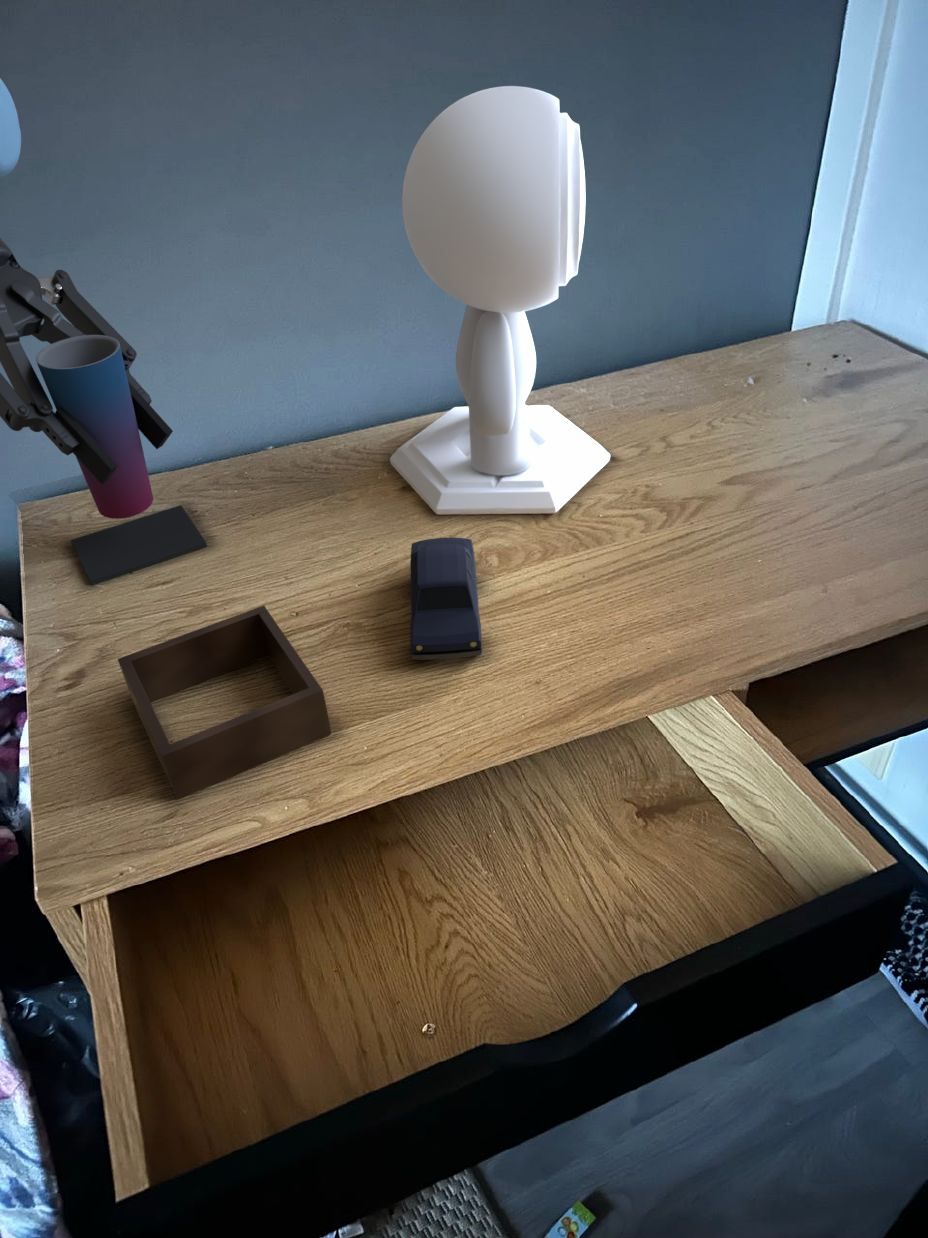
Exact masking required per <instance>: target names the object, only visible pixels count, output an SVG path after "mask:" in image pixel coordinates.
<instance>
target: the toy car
mask: <svg viewBox="0 0 928 1238" xmlns="http://www.w3.org/2000/svg"><path fill="white" fill-rule="evenodd" d="M475 558H476V557H475V551H474V546H473V539H471V538H465V537H436V538H428V539H423V540H419V541H415V542H412V543H411V549H410V563H409V564H410V565H409V568H410V627H409V628H410V631H409V632H410V644H411V647H410V648H411V649H409V652H410V654H411V657H412V659H413V660H417V661H418V660H419V661H420V660H421V661H422V660H423V661H425V660H447V659H460V658H467V657H468V658H469V657H478V656H481V655H482V654H483V650H484V646H483V644H482V624H481V618H480V612H479V611H480V609H479V595H478V581H477V570H476V569H477V568H476V559H475Z"/></svg>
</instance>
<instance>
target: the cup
mask: <svg viewBox="0 0 928 1238" xmlns="http://www.w3.org/2000/svg"><path fill="white" fill-rule="evenodd" d="M36 354H37V355H36V356H35V362H36V365H37V367H38V370H39V372H40V374H41V376H42V379H43V381H44V383H45V386H46V389H47V391H48V393H49V395H50V398H51V400H52V403H53V405H54V408H55V411H56V410H57V409H59V408H61V407H62V408H63V409H64V410H65V411H66V412H68V413H69V414H70V415H71V416H73V417H74V418H75V419H76V420H77V421H78V422H79V423H80V425H81V426H82V427H83V428H84V429H85V430H86V431H87V432H88V433H89V434H90V436H91V437H92V438H93V439H94V440H95V441H96V442H97V443H98V444H99V445H100V447H101V448H102V449H103V450H104V451H105V452H106V453H107V454H108V455H109V457H110V458H111V459H112V460H113V461H114V462H115V463H116V464H117V465H118V467H117V468H116V470H115V471H114V473H113V474H112V476H111V477H110V478H109V480H108V481H106V482H105V483H103V484H101V483H100V482H99V481H98V480H97V479H96V478H95V477H94V475H93V474H92V473H91V472H90V471H89V470H88V469H87V468H86V467H85V466H84V464H83V463H82V462H81V461H80V460H79V459H78V458H77V457H76V456H75V458H76V460H77V463H78V466H79V467H80V470H81V472H82V474H83V477H84V480H85V482H86V484H87V487H88V489H89V492H90V494H91V496H92V499H93V502H94V503H95V507H96V509H97V511H98V513H99V514H100V515H101V516H102V517H104V518H108V519H112V520H113V519H114V520H116V519H117V520H119V519H120V520H121V519H129V518H131V517H135V516H137V515H140V514H142V513H144V512H145V511H147V510H148V509H149V508H150V507H151V506H152V504H153V502H154V494H153V490H152V486H151V485H152V484H151V481H150V476H149V471H148V467H147V462H146V458H145V454H144V448H143V445H142V439H141V435H140V430H139V429H138V425H137V421H136V416H135V411H134V407H133V402H132V398H131V393H130V388H129V384H128V379H127V375H126V370H125V365H124V361H123V356H122V351H121V347H120V343H119V342H118V341H117V340H116V339H115V338H112V337H109V336H104V335H83V336H77V337H72V338H67V339H64V340H60V341H58V342H55V343H53V344H49V345H47V346H45V347H43V348H42V349H41V350H40V351H38V353H36Z"/></svg>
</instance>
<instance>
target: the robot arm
mask: <svg viewBox="0 0 928 1238" xmlns="http://www.w3.org/2000/svg"><path fill="white" fill-rule="evenodd" d="M21 149H22V130H21V128H20V121H19V116H18V111H17V108H16V105H15V102H14V99H13V98H12V95H11V93H10V91H9V89H8V88H7V86H6V84H5V83H4V81H3V80H2V78H0V178H3V177H6V176H7V175H9V174H10V173H11V172H12V171H13V170H14V169H15V167H16V166H17V164H18V162H19V159H20V155H21ZM43 296H44V297H45V298H47V300H48V302H47V301H45V300H44V299H43ZM54 305H55V307H54ZM56 308H57V309H56ZM61 314H62V315H61ZM62 316H63V317H64V318H63V317H62ZM42 322H43V323H42ZM83 335H104V336H109V337H112V338H115V339H116V340H117V341H118V342H119V343H120V347H121V351H122V356H123V361H124V365H125V370H126V375H127V379H128V384H129V388H130V393H131V398H132V402H133V407H134V411H135V416H136V421H137V425H138V430H139V432H141V434H142V435H143V436H144V437H145V439H146V440H147V441H148V442H149V443H150V444H151V445H152V446H153V447H154V448H155V449H156V450H158V449H159V448H161V447H163V446H164V445H165V443H166V442H167V440H168V439H169V437H171V436H172V434H173V432H174V430H173V429H172V428H171V427H170V426H169V425H168V424H167V423H166V421H165V420H164V419H163V418H162V417H161V415H159V413H157V411H156V410H155V409H154V408H153V407H152V405H151V403H152V398H151V396H150V395H149V393H148V392H147V391H146V390H145V389H144V388H143V387H142V385H141V384H140V382H138V381H137V379H135V378H134V377H133V375H132V374H131V372H130V369H131V366H133V363H134V362H135V360H136V358H137V356H138V353H137V350H136V349H135V348H134V347H132V345H130V343H129V342H128V341H127V340H126V339H125V337H123V336H122V335H121V334H120V333H119V332H118V331H117V330H116V329H115V328H114V327H113V326H112V325H111V324H110V323H109V322H108V321H107V320H106V319H105V318H104V317H103V316H102V315H101V314H100V312H99V311H97V310H96V308H95V307H94V306H92V304H91V303H90V302H89V301H88V300H87V299H86V298H85V297H84V296H83V295H82V294H81V293H80V292H79V291H78V290H77V288H76V286H75V283H74V282H73V280H72V278H71V276H70V275H69V273H68V272H67V271H65V270H63V269H57V270H55V272H54V274H53V276H48V277H37V276H36V275H35V274H33V273H32V272H29V271H28V270H26V269H25V268H23V267H22V266H21V265H20V264H19V263H18V261H17V259H16V257H15V255H14V253H13V252H12V250H11V248H10V247H9V246H8V245H7V244H6V242H4V240H2V238H1V237H0V364H1V366H2V368H3V370H4V372H5V374H6V376H7V379H8V380H9V382H8V380H7V379H6V378H5V376H4V375H3V374H2V373H1V372H0V418H1V419H2V421H3V422H4V423H5V424H6V425H7V426H8V428H9V429H10V430H12V431H14V432H19V431H22V430H23V429H24V428H29V430H31V431H32V432H34V433H41V432H42V433H44V435H45V436H46V437H47V438H48V439H49V440H50V441H51V443H53V445H55V447H56V448H57V449H58V450H59V451H60V452H61V453H63V454H64V455H66V456H69V455H71V454H73V455H74V456H75V458H76V457H77V458H78V459H79V460H80V461H81V462H82V463H83V464H84V466H85V467H86V468H87V469H88V470H89V471H90V472H91V473H92V474H93V475H94V477H95V478H96V479H97V480H98V481H99V482H100V483H101V484H103V483H105V482H106V481H108V480H109V478H110V477H111V476H112V474H113V473H114V471H115V470H116V468H117V467H118V465H117V464H116V463H115V462H114V461H113V460H112V459H111V458H110V457H109V455H108V454H107V453H106V452H105V451H104V450H103V449H102V448H101V447H100V445H99V444H98V443H97V442H96V441H95V440H94V439H93V438H92V437H91V436H90V434H89V433H88V432H87V431H86V430H85V429H84V428H83V427H82V426H81V425H80V423H79V422H78V421H77V420H76V419H75V418H74V417H73V416H71V415H70V414H69V413H68V412H66V411H65V410H64V409H63V408H62V407H61V408H59V409H57V410H56V409H55V411H54V408H53V407H54V406H53V405H52V403H51V400H50V399H49V397H48V395H47V392H46V391H45V388H44V387H43V385H42V383H41V381H40V379H39V377H38V375H37V373H36V371H35V369H34V367H33V365H32V363H31V361H30V359H29V357H28V354H26V353H27V352H26V351H25V350H24V347H23V346H22V344H21V340H20V339H21V338H23V337H28V336H33V337H34V338H36V340H38V341H40V342H43V343H44V342H47V343H49V345H51V344H53V343H55V342H58V341H60V340H64V339H67V338H72V337H77V336H83ZM77 458H76V459H77Z"/></svg>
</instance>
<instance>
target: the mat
mask: <svg viewBox="0 0 928 1238" xmlns="http://www.w3.org/2000/svg"><path fill="white" fill-rule="evenodd" d="M70 542H71V545H72V547H73V549H74V551H75V554H76V555H77V558H78V560H79V562H80V564H81V566H82V569H83V571H84V573H85V575H86V577H87V579H88V581H89V583H90V585H91V586H94V585H97V584H100V583H103V582H106V581H108V580H111V579H114V578H117V577H118V578H119V577H120V576H124V575H127V574H129V573H132V572H135V571H138V570H142V569H144V568H147V567H151V566H154V565H156V564H159V563H163V562H164V561H168V560H171V559H174V558H177V557H180V556H183V555H186V554H190V553H192V552H195V551H198V550H201V549H203V548H204V549H205V548H206V547H208V543H207V541H206V540H205V538H204V536H203V535H202V534H201V532H200V531H199V529H198V528H197V526H196V525H195V523H194V522H193V521H192V519H191V517H190V516H189V514H188V513H187V512H186V510H185V509H184V506H183V505H181V504H179V505H176V506H173V507H169V508H167V509H164V510H161V511H158V512H155V513H152V514H148V515H146V516H142V517H139V518H136V519H132V520H129V521H126V522H123V523H119V524H117V525H114V526H111V527H107V528H103V529H101V530H98V531H94V532H91V533H88V534H85V535H82V536H79V537H75V538H73V539H70Z"/></svg>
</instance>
